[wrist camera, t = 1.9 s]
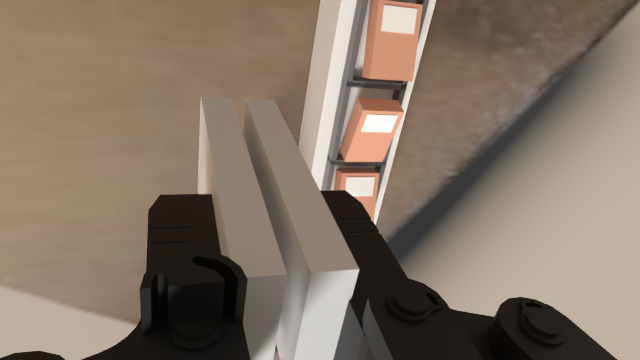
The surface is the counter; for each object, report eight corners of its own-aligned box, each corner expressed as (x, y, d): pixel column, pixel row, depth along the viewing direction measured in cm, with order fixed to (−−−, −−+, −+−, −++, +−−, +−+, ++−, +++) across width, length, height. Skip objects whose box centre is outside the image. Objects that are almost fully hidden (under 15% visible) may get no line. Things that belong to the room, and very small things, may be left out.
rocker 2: (336, 168, 38) (342, 173, 37) (372, 168, 39) (379, 173, 38) (330, 226, 39) (336, 233, 38) (365, 224, 40) (372, 231, 39)
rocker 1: (357, 97, 34) (363, 110, 33) (397, 99, 35) (404, 112, 34) (339, 149, 37) (344, 162, 36) (377, 149, 38) (382, 162, 37)
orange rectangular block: (370, 0, 32) (379, -1, 30) (412, 5, 33) (423, 4, 31) (362, 76, 33) (370, 78, 32) (403, 79, 34) (412, 81, 33)
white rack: (326, -41, 34) (351, -28, 30) (412, -28, 36) (447, -14, 32) (290, 201, 45) (304, 237, 40) (358, 199, 47) (379, 233, 42)
